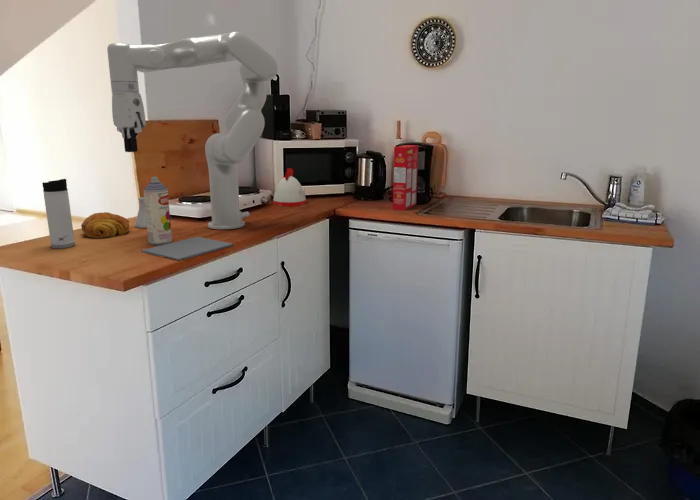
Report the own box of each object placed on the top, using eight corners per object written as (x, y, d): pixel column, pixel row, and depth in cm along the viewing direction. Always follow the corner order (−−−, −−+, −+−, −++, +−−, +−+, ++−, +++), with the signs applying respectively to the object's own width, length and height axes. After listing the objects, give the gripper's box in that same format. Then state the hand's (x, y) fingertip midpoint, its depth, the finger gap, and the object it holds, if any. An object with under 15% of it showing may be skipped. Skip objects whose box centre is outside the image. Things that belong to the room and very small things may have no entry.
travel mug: (66, 249, 156) (57, 180, 150) (46, 248, 157) (36, 180, 151) (80, 244, 161) (72, 177, 156) (61, 243, 163) (51, 177, 157)
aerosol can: (165, 245, 160) (159, 178, 154) (144, 244, 161) (137, 178, 156) (176, 240, 166) (170, 176, 161) (155, 239, 167) (149, 175, 162)
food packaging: (404, 203, 231) (406, 144, 225) (416, 204, 229) (418, 145, 223) (392, 209, 218) (394, 147, 212) (404, 210, 216) (406, 147, 210)
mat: (197, 238, 169) (197, 236, 169) (233, 245, 160) (233, 243, 160) (142, 252, 153) (141, 250, 153) (178, 260, 144) (178, 258, 144)
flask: (140, 229, 181) (137, 200, 179) (130, 226, 186) (127, 197, 183) (160, 226, 186) (158, 197, 184) (150, 223, 191) (147, 195, 188)
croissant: (79, 246, 167) (75, 222, 164) (87, 229, 181) (83, 207, 178) (129, 242, 171) (125, 219, 168) (133, 226, 185) (129, 203, 182)
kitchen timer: (309, 201, 236) (309, 167, 232) (300, 207, 223) (299, 170, 219) (280, 200, 239) (279, 166, 235) (268, 205, 226) (267, 169, 222)
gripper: (152, 88, 156) (157, 152, 161) (121, 89, 164) (127, 149, 169) (129, 87, 150) (135, 153, 155) (98, 88, 158) (105, 151, 163)
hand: (131, 151), depth 162 cm, fingers closed
